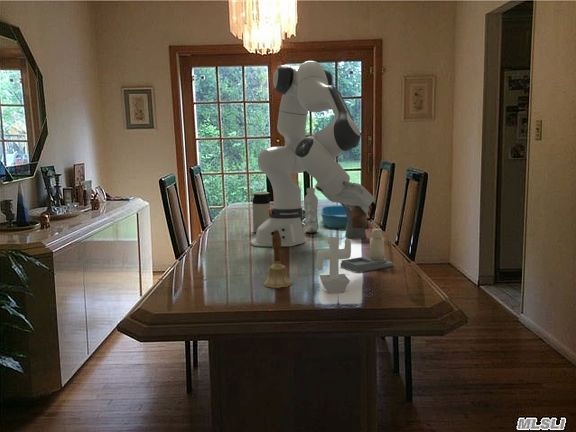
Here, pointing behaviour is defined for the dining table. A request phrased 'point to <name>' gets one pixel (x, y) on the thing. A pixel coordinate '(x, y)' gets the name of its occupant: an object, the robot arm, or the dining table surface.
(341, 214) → the casserole dish
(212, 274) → the dining table surface
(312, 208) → the plastic bottle
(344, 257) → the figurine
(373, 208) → the coffeepot
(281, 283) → the hand bell
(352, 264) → the cruet stand
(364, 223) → the pepper mill
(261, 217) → the travel mug
